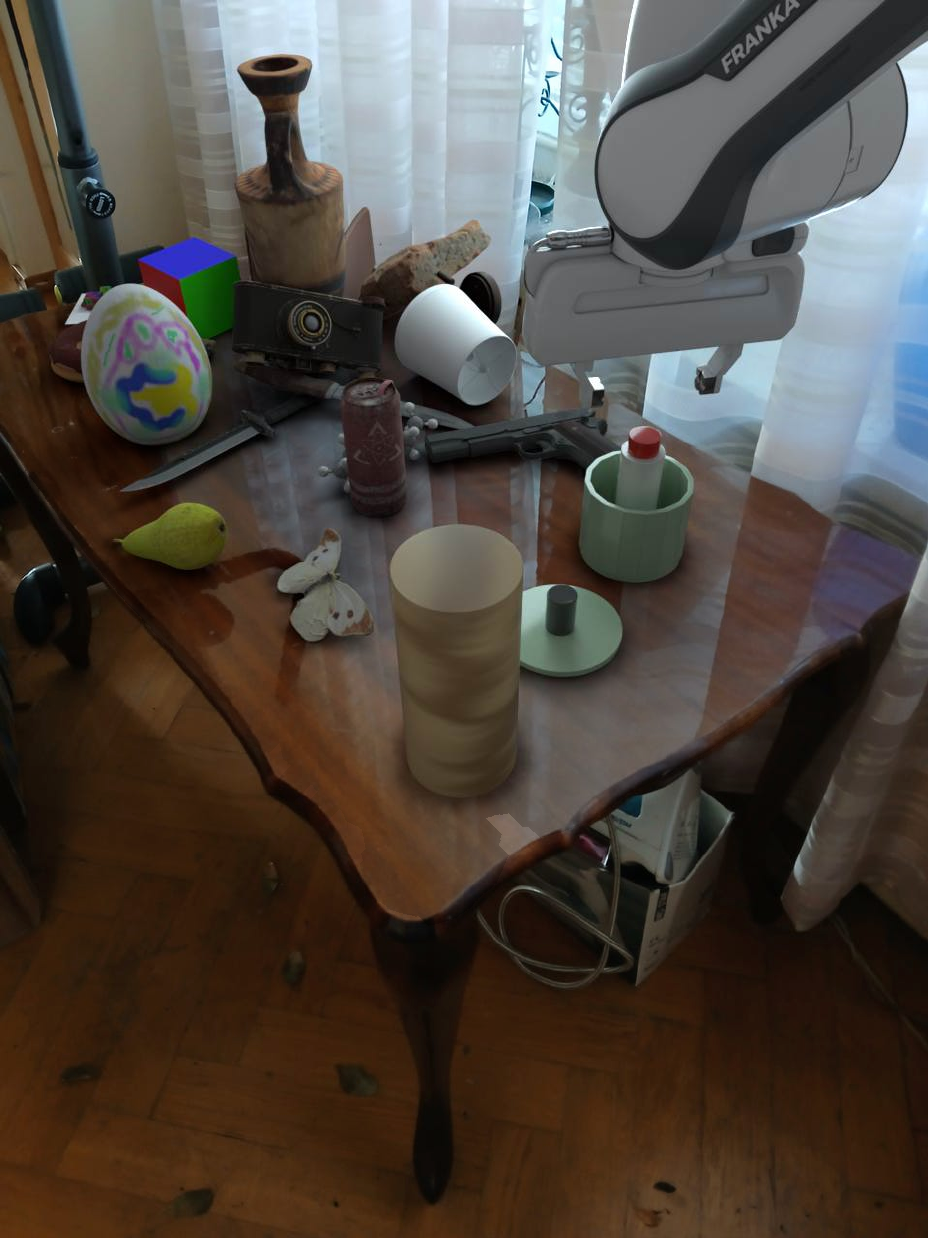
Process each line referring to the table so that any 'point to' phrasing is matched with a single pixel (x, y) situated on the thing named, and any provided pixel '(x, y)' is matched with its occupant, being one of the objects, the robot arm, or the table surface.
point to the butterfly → (325, 595)
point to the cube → (195, 282)
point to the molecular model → (408, 440)
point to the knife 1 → (224, 441)
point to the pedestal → (458, 656)
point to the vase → (291, 190)
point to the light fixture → (458, 338)
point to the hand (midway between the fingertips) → (648, 397)
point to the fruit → (180, 537)
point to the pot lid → (567, 631)
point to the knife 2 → (331, 390)
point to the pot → (634, 524)
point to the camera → (307, 329)
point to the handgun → (529, 438)
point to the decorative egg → (145, 366)
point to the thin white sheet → (86, 305)
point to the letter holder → (348, 254)
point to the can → (374, 445)
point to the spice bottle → (640, 470)
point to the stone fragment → (423, 267)
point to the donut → (68, 353)
